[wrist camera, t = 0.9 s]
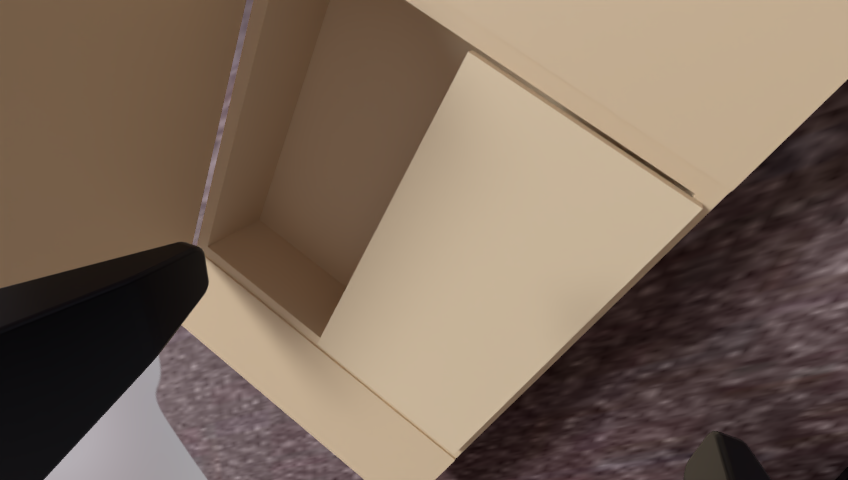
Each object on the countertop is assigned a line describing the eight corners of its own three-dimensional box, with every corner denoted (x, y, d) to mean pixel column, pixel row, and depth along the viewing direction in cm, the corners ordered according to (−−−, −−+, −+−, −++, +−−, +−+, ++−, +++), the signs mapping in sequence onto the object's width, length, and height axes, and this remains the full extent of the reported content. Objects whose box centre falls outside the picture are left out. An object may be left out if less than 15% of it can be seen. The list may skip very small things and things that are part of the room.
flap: (-73, -183, 8) (-89, -195, 9) (-6, 346, 17) (-14, 339, 18) (269, -105, 15) (259, -112, 15) (191, 246, 24) (185, 241, 24)
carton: (900, -33, 13) (979, -42, 9) (435, 452, 29) (398, 517, 26) (416, -304, 15) (331, -395, 12) (232, 287, 31) (172, 325, 28)
